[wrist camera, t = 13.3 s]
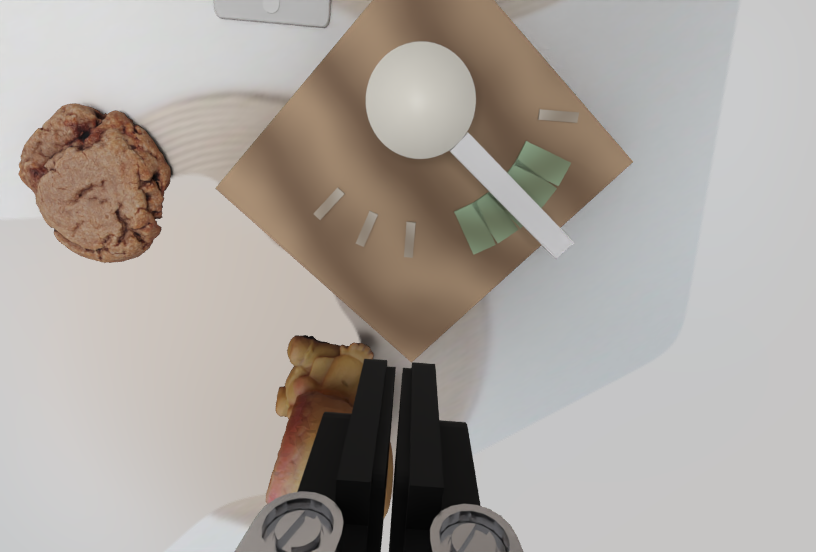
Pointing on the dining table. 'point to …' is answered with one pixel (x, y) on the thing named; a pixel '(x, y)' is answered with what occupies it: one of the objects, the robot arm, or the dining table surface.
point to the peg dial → (446, 126)
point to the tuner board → (420, 172)
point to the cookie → (97, 182)
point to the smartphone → (276, 11)
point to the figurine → (315, 405)
